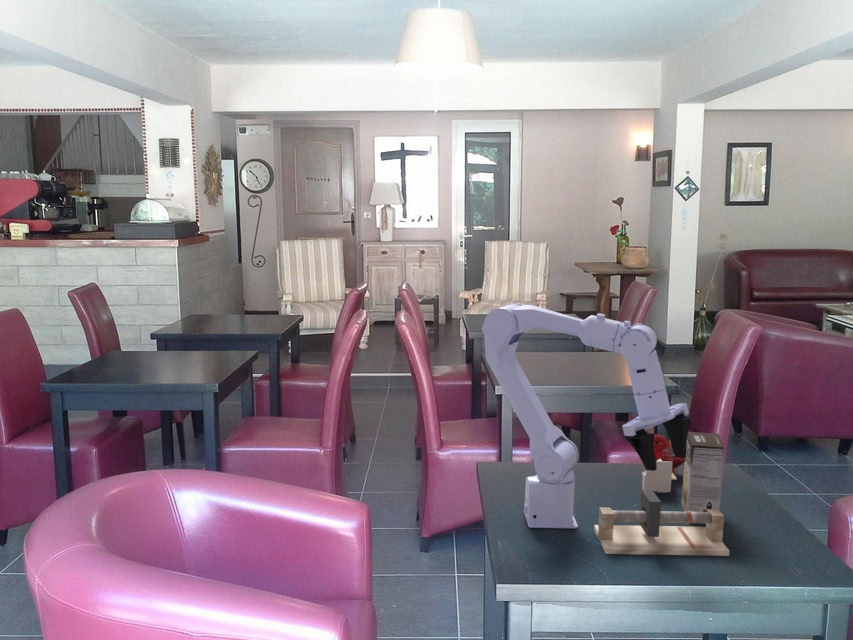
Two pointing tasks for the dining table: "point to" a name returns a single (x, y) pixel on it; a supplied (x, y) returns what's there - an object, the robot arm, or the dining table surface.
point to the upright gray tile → (651, 513)
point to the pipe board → (662, 533)
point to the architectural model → (659, 477)
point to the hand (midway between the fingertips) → (666, 463)
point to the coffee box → (702, 472)
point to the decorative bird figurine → (666, 452)
